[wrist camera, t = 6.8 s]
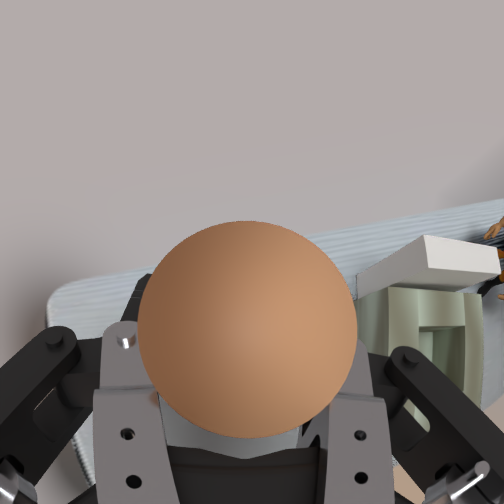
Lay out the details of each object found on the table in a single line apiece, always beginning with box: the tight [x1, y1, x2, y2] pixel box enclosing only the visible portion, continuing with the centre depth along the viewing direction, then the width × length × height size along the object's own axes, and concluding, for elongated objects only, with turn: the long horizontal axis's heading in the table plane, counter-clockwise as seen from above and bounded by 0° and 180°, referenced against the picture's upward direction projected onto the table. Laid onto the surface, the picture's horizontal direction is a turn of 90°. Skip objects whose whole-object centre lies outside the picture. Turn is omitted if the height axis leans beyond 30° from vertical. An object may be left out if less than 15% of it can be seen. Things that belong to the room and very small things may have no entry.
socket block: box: [353, 286, 483, 432], centre depth 19 cm, size 10×10×6 cm
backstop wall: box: [356, 235, 501, 299], centre depth 20 cm, size 8×2×9 cm, turn 88°
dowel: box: [137, 221, 357, 438], centre depth 10 cm, size 4×4×10 cm
